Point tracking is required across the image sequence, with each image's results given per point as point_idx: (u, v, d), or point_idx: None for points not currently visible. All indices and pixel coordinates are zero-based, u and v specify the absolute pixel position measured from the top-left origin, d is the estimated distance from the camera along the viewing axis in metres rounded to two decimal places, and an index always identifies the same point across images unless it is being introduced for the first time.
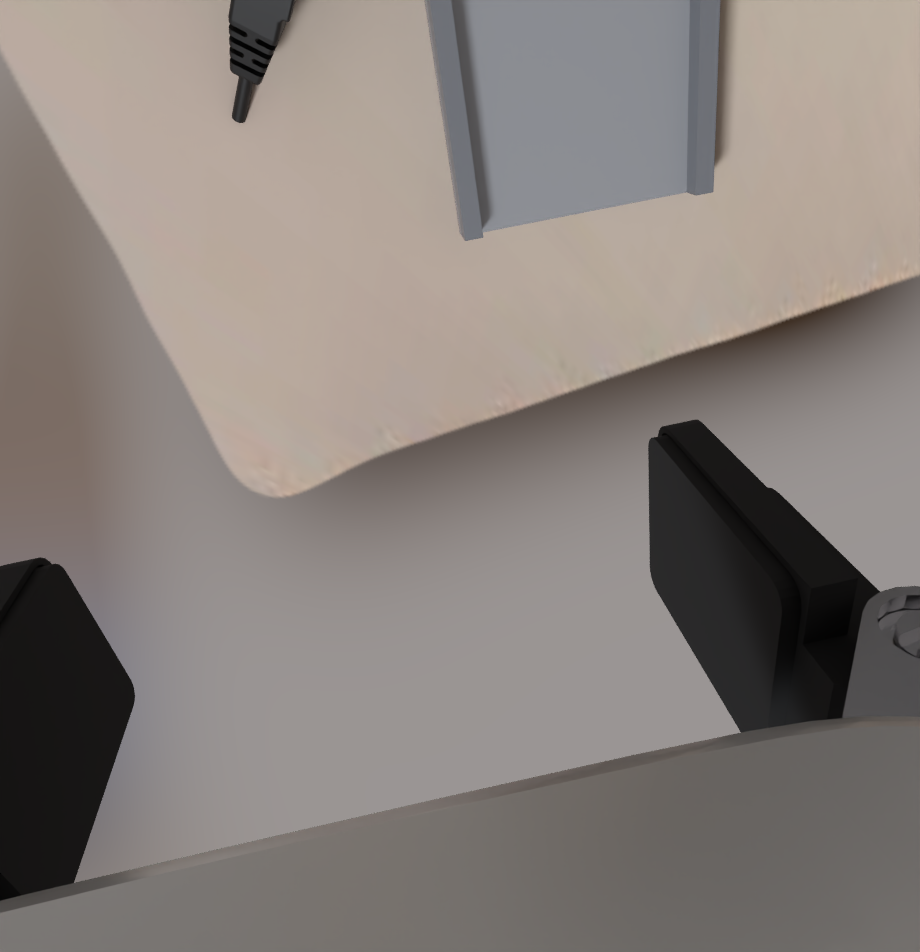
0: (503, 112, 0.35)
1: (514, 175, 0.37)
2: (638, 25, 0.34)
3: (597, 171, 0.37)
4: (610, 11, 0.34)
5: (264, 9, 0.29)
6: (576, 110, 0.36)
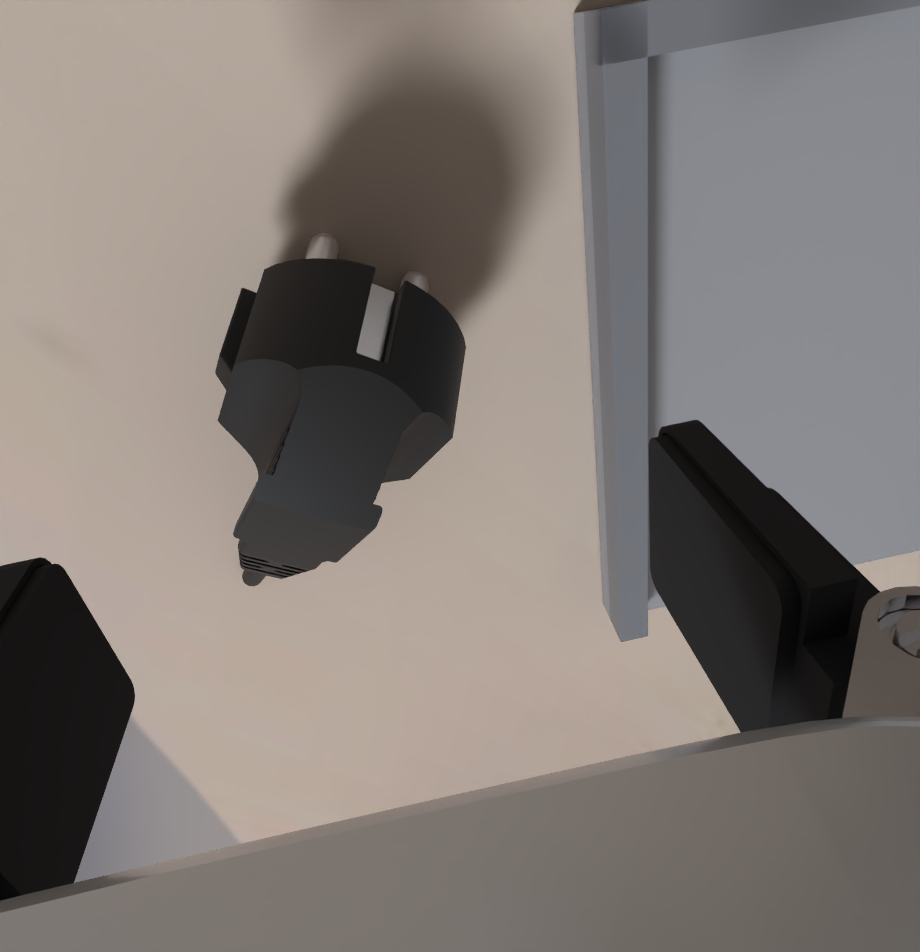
0: None
1: None
2: None
3: None
4: (884, 344, 0.21)
5: (298, 553, 0.17)
6: (804, 467, 0.23)
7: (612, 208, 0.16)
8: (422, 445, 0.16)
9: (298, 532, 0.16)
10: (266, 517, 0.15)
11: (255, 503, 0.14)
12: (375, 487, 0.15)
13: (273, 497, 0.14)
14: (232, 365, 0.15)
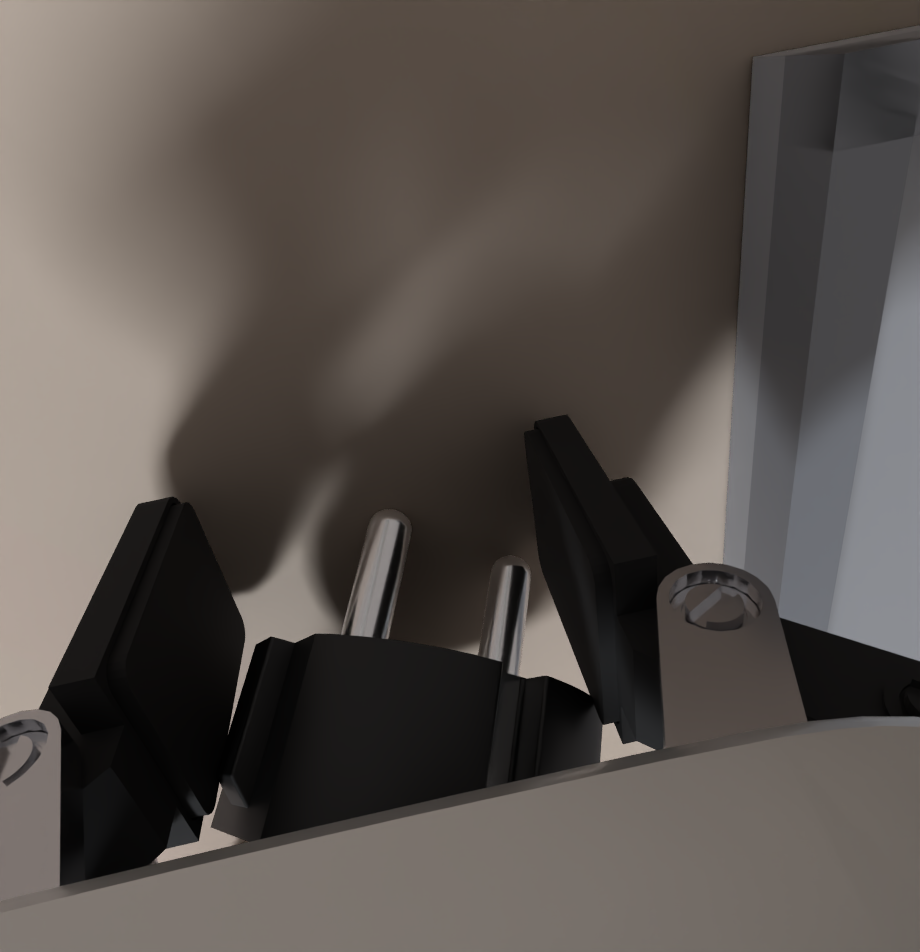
0: None
1: None
2: None
3: None
4: None
5: None
6: None
7: (814, 380, 0.10)
8: None
9: None
10: None
11: None
12: None
13: None
14: (249, 793, 0.09)
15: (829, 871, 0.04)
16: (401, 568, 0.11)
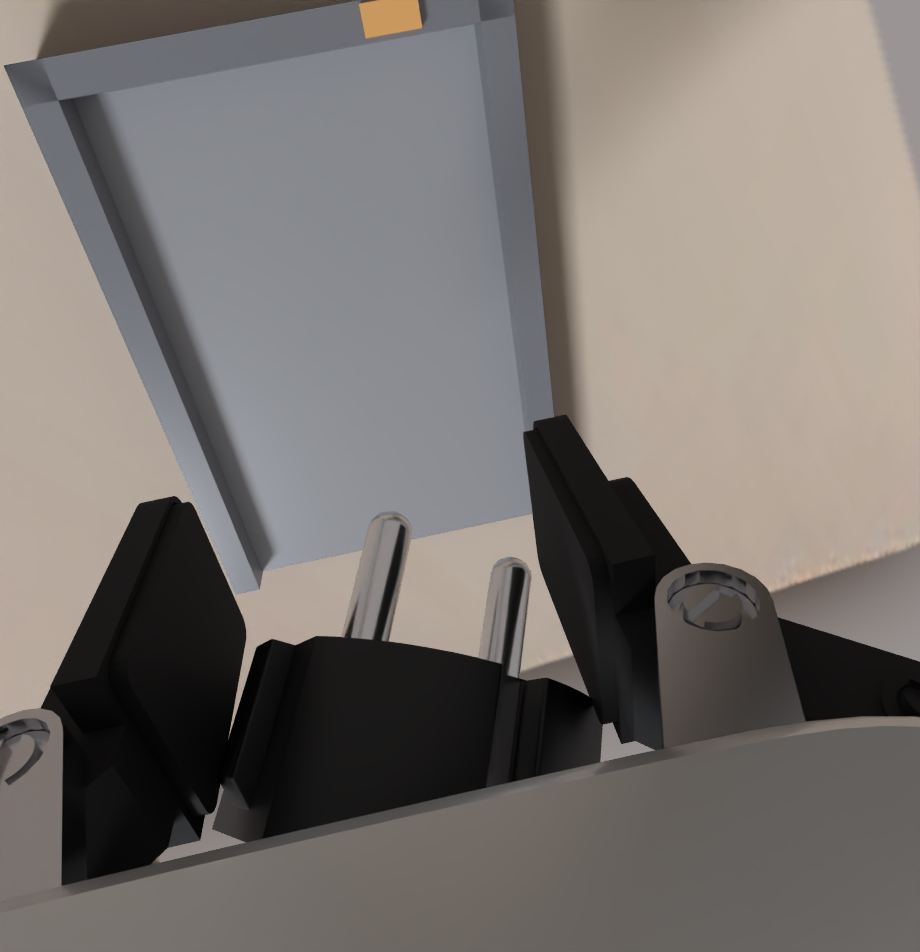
0: (270, 447, 0.26)
1: (298, 511, 0.28)
2: (442, 344, 0.25)
3: (410, 499, 0.28)
4: (401, 332, 0.25)
5: None
6: (371, 439, 0.27)
7: (75, 217, 0.20)
8: None
9: None
10: None
11: None
12: None
13: None
14: (250, 796, 0.09)
15: (829, 871, 0.04)
16: (401, 570, 0.11)
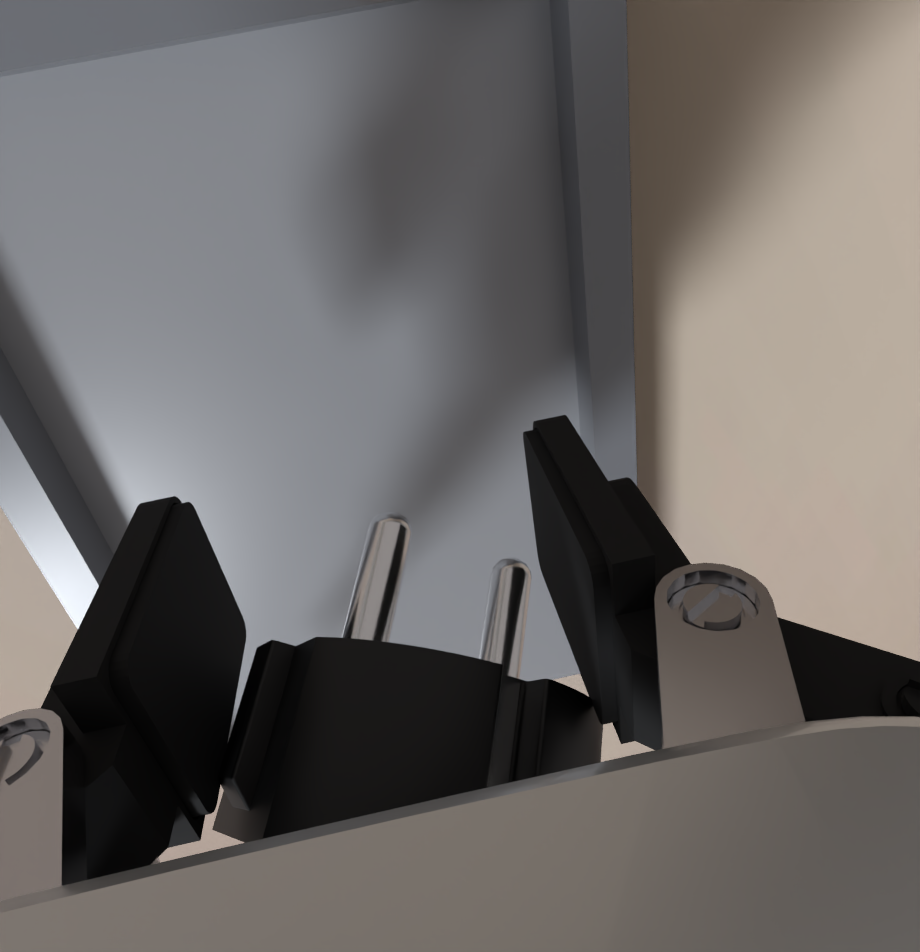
0: None
1: None
2: (478, 463, 0.17)
3: None
4: (418, 448, 0.17)
5: None
6: None
7: None
8: None
9: None
10: None
11: None
12: None
13: None
14: (250, 796, 0.09)
15: (829, 871, 0.04)
16: (402, 570, 0.11)
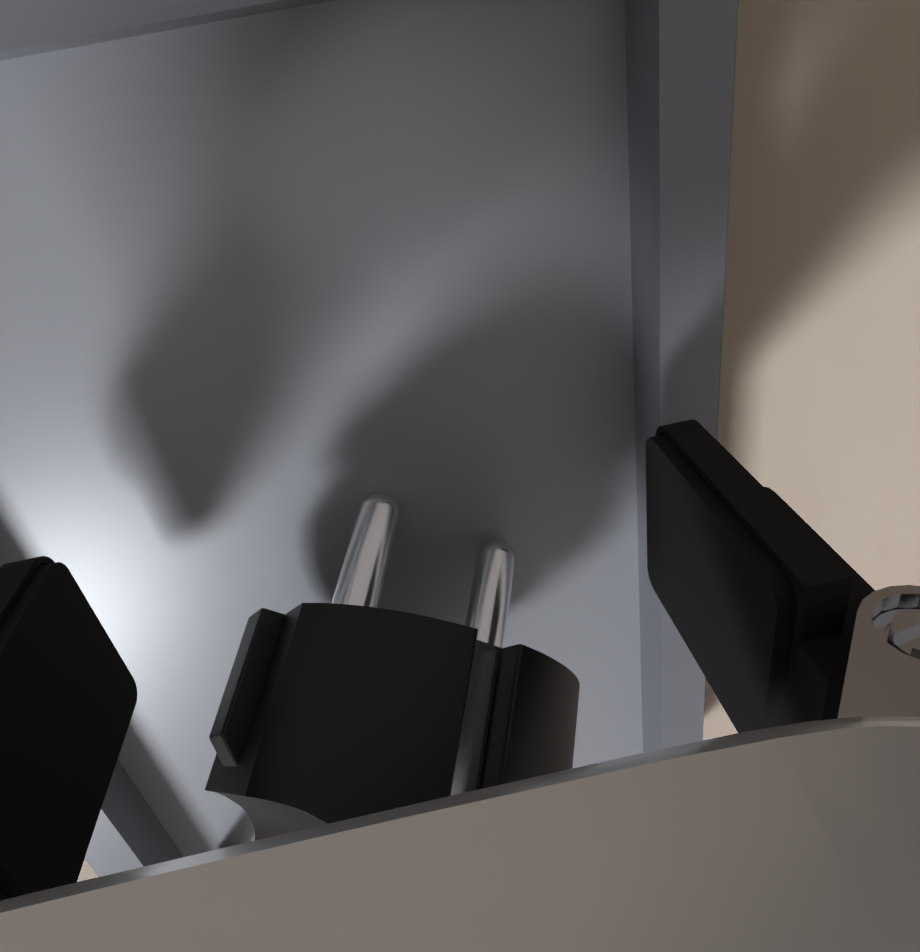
0: (203, 724, 0.15)
1: None
2: None
3: None
4: (437, 544, 0.13)
5: None
6: None
7: None
8: None
9: None
10: None
11: None
12: None
13: None
14: (238, 753, 0.10)
15: (830, 872, 0.04)
16: (388, 548, 0.12)
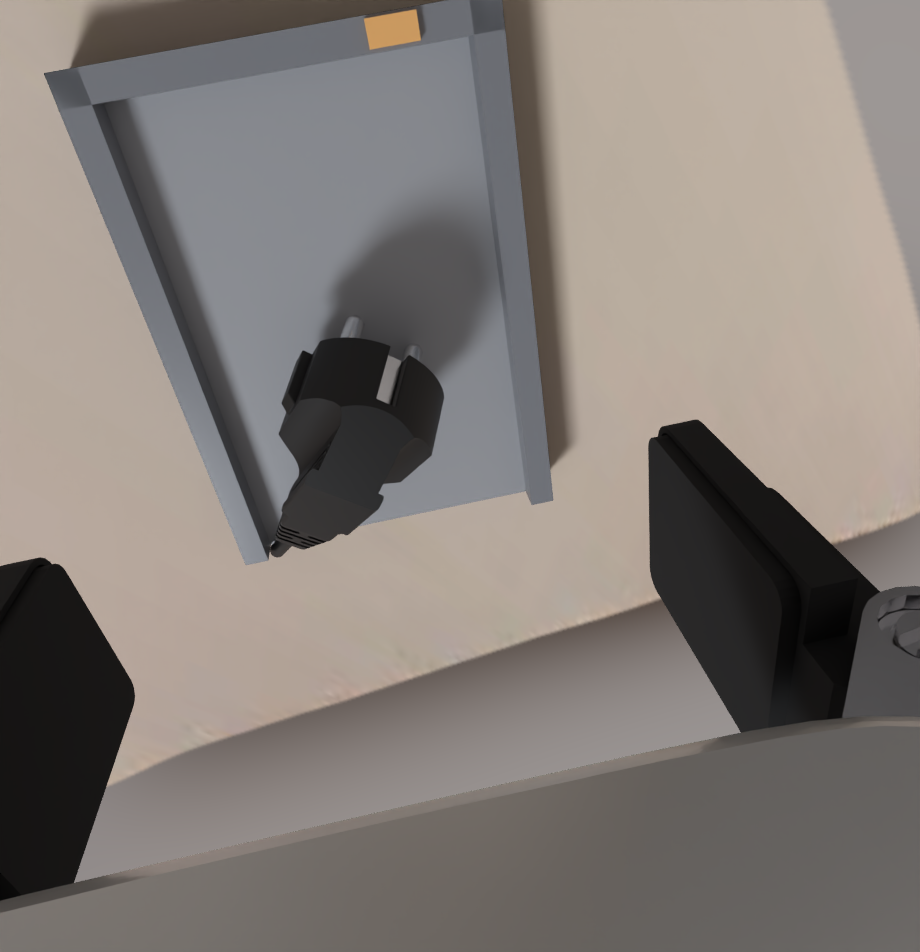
0: (279, 426, 0.28)
1: None
2: (439, 330, 0.27)
3: (409, 477, 0.30)
4: (401, 319, 0.27)
5: (322, 526, 0.26)
6: None
7: (104, 211, 0.22)
8: (411, 459, 0.25)
9: (326, 510, 0.24)
10: (308, 498, 0.24)
11: (304, 487, 0.23)
12: (380, 483, 0.23)
13: (316, 484, 0.23)
14: (295, 399, 0.23)
15: (829, 871, 0.04)
16: (358, 337, 0.26)
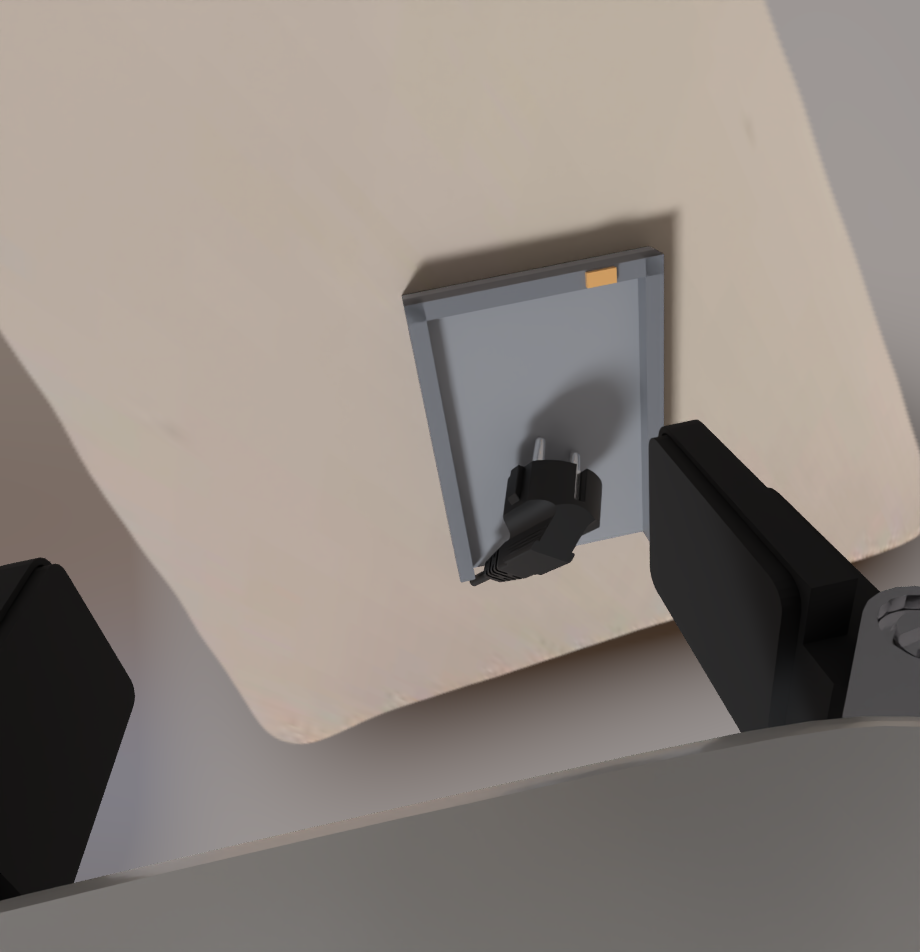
0: (491, 492, 0.44)
1: (500, 530, 0.45)
2: (599, 433, 0.42)
3: None
4: (577, 426, 0.42)
5: (526, 570, 0.41)
6: None
7: (420, 375, 0.38)
8: (585, 529, 0.40)
9: (536, 562, 0.40)
10: (528, 556, 0.39)
11: (530, 551, 0.38)
12: (573, 546, 0.39)
13: (537, 549, 0.38)
14: (519, 497, 0.39)
15: (829, 871, 0.04)
16: (545, 451, 0.41)
